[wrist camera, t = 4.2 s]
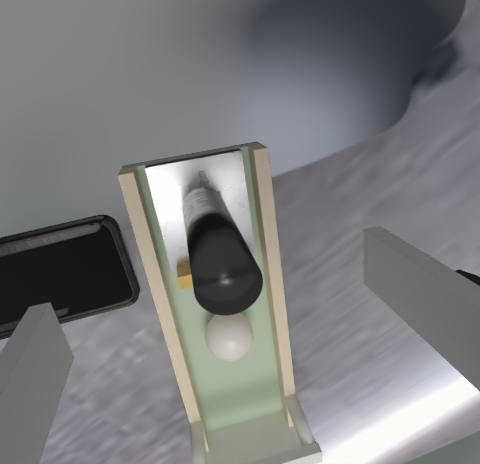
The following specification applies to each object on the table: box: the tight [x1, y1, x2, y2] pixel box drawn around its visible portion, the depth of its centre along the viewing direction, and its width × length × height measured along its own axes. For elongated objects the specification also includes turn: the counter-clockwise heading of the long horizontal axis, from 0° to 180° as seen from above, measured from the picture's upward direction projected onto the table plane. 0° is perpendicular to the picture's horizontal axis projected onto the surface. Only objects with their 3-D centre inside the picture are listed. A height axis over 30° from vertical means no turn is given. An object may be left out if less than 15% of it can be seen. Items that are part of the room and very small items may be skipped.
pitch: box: [117, 142, 322, 464], centre depth 27 cm, size 28×10×9 cm, turn 8°
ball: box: [205, 313, 254, 362], centre depth 28 cm, size 4×4×4 cm
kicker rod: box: [145, 148, 263, 316], centre depth 20 cm, size 8×7×12 cm
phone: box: [0, 215, 140, 340], centre depth 27 cm, size 8×1×15 cm
